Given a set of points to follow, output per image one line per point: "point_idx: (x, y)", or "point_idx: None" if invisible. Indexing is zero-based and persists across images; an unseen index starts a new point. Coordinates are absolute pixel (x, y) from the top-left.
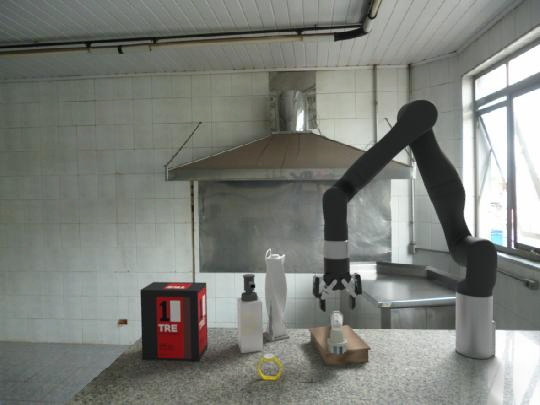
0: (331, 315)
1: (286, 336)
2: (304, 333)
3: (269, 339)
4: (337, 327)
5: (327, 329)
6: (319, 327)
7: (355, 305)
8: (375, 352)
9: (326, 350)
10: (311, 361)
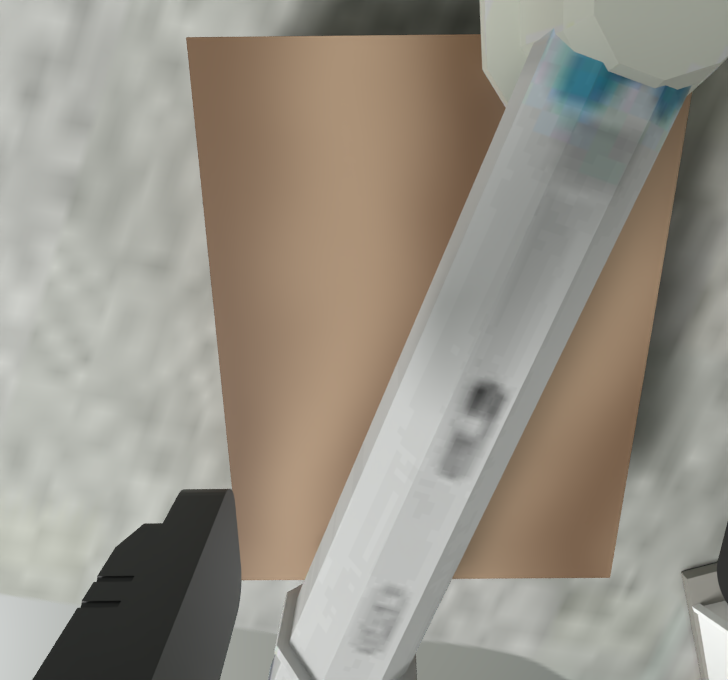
0: (400, 673)
1: (710, 580)
2: (551, 616)
3: None
4: (642, 58)
5: None
6: (510, 575)
7: (116, 551)
8: (130, 237)
9: None
10: (692, 174)
